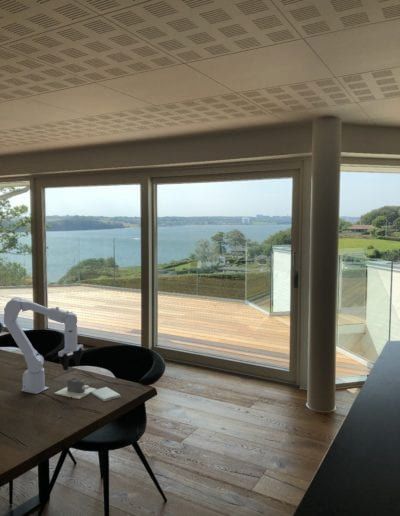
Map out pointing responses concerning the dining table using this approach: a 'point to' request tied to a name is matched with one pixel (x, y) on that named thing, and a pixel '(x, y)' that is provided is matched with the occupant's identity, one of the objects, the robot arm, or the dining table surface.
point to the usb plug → (76, 385)
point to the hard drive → (105, 394)
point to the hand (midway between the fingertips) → (71, 367)
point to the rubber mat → (74, 395)
